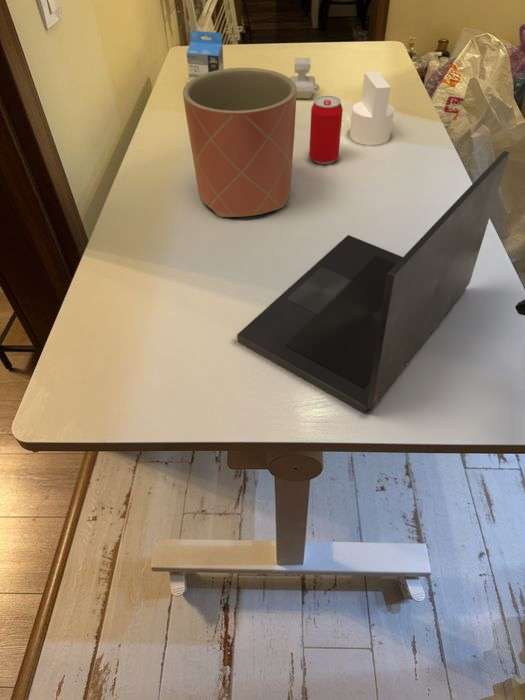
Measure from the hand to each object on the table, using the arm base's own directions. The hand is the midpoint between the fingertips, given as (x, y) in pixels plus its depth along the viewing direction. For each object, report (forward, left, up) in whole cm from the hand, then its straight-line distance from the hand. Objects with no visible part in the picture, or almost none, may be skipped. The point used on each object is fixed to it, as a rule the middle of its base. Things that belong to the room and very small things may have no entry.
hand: (517, 308), depth 60 cm
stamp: (+45, -85, -13) cm, 97 cm away
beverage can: (+33, -54, -13) cm, 64 cm away
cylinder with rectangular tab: (+25, -67, -13) cm, 72 cm away
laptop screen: (+9, -4, -1) cm, 10 cm away
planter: (+45, -36, -13) cm, 59 cm away
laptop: (+19, -8, -13) cm, 24 cm away
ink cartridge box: (+71, -86, -13) cm, 112 cm away
